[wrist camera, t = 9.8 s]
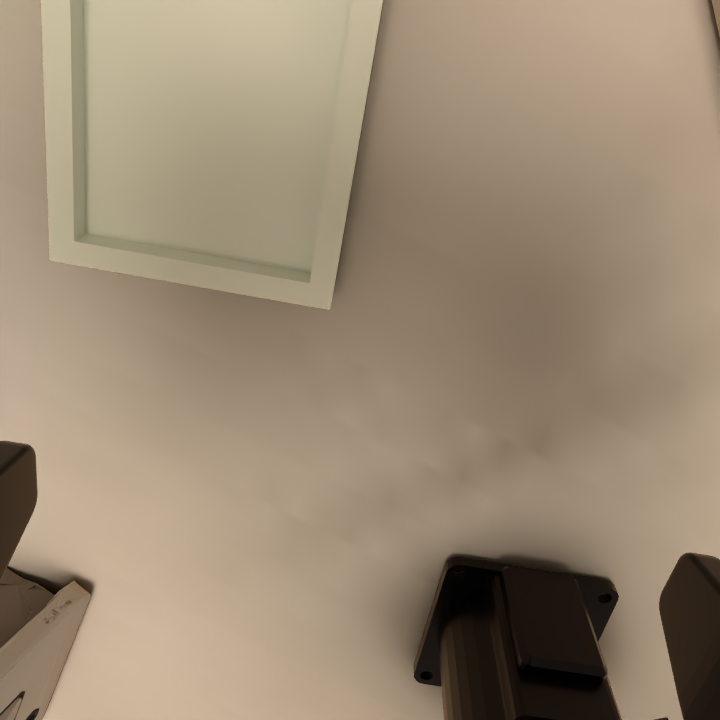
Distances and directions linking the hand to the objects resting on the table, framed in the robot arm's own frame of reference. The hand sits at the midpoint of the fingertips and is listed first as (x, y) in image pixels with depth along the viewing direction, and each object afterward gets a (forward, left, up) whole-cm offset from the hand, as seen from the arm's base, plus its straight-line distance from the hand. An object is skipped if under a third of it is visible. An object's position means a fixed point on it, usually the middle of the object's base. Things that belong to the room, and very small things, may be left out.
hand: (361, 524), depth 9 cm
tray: (+3, +5, -12) cm, 13 cm away
